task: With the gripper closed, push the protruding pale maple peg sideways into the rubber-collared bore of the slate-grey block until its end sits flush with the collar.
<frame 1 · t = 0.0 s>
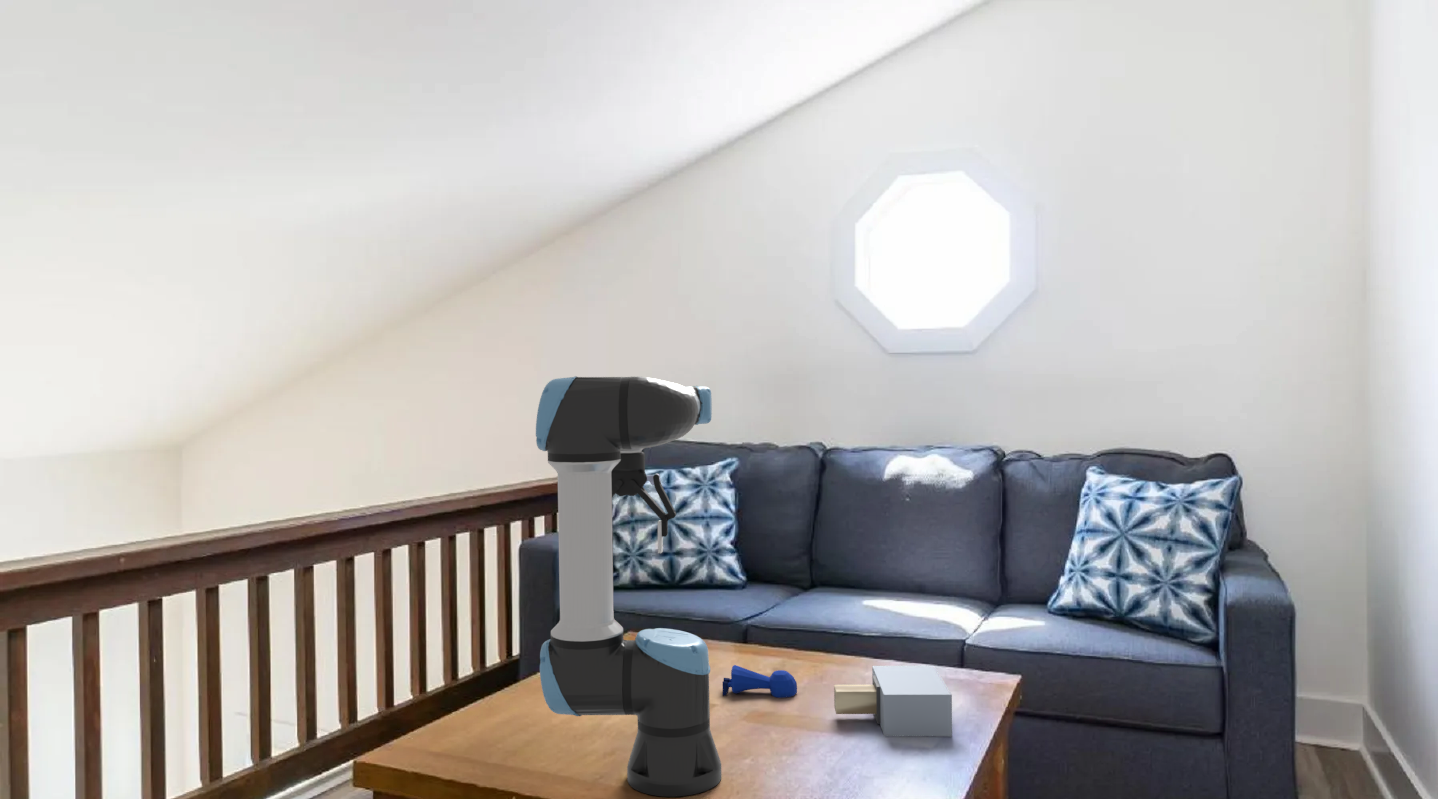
hand: (628, 552, 212), 28 cm above the table, fingers open, 13 cm apart
sleeve block: (910, 719, 189), on the table
peg: (878, 699, 189), point 4 cm above the table, slide at 0.0 cm
toy: (760, 695, 206), on the table
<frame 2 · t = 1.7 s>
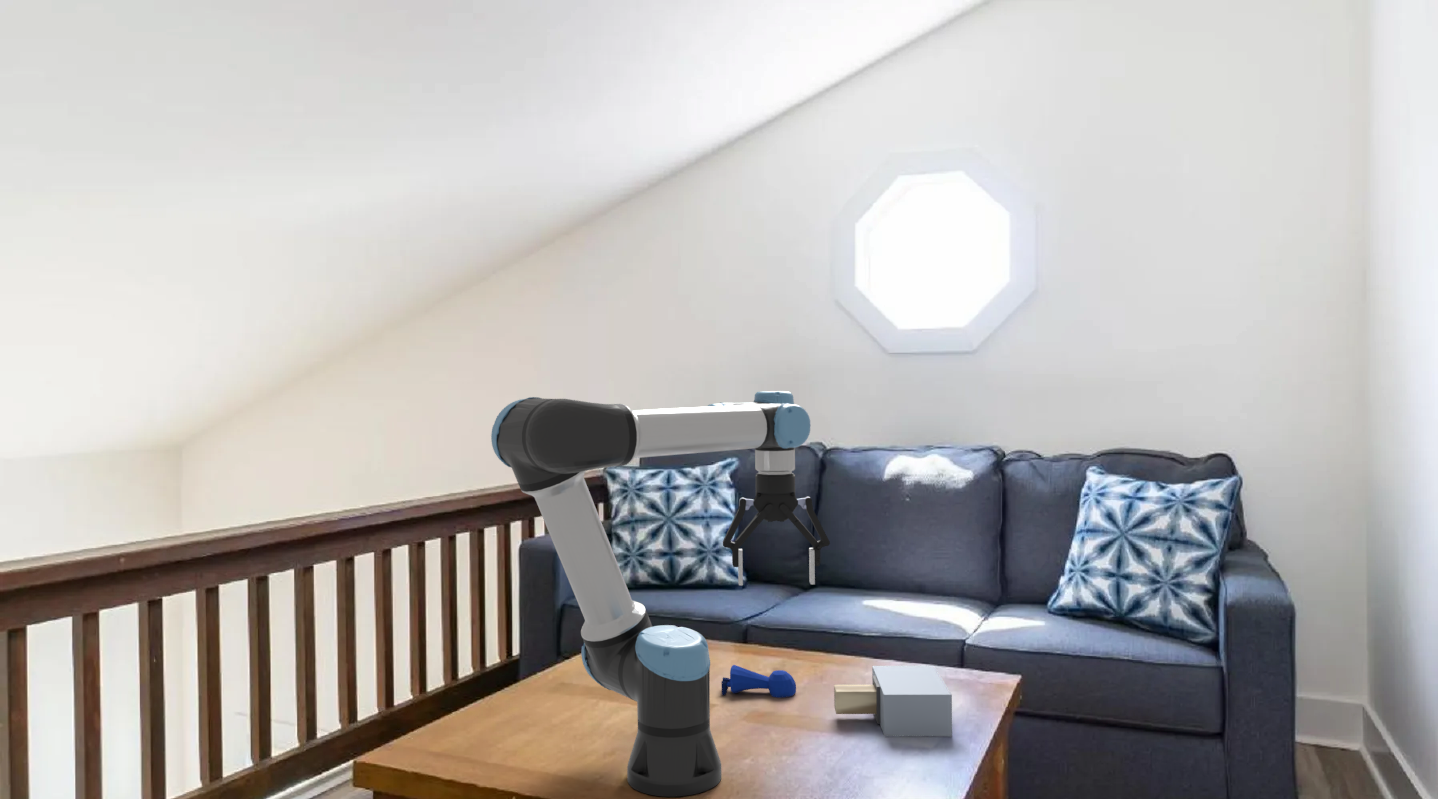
hand: (776, 583, 192), 25 cm above the table, fingers open, 13 cm apart
nothing on the table moved.
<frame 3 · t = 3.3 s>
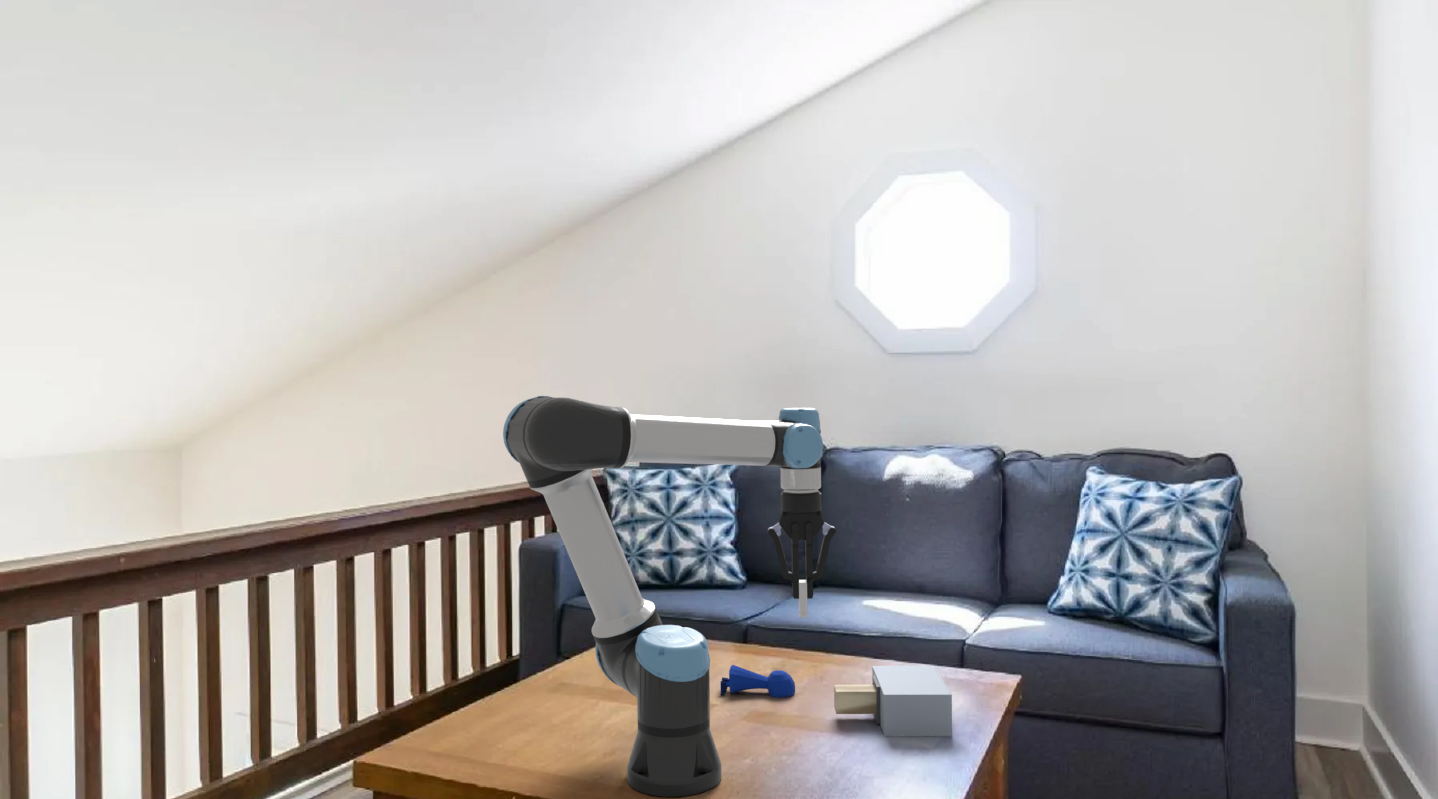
hand: (803, 615, 190), 20 cm above the table, fingers closed
nothing on the table moved.
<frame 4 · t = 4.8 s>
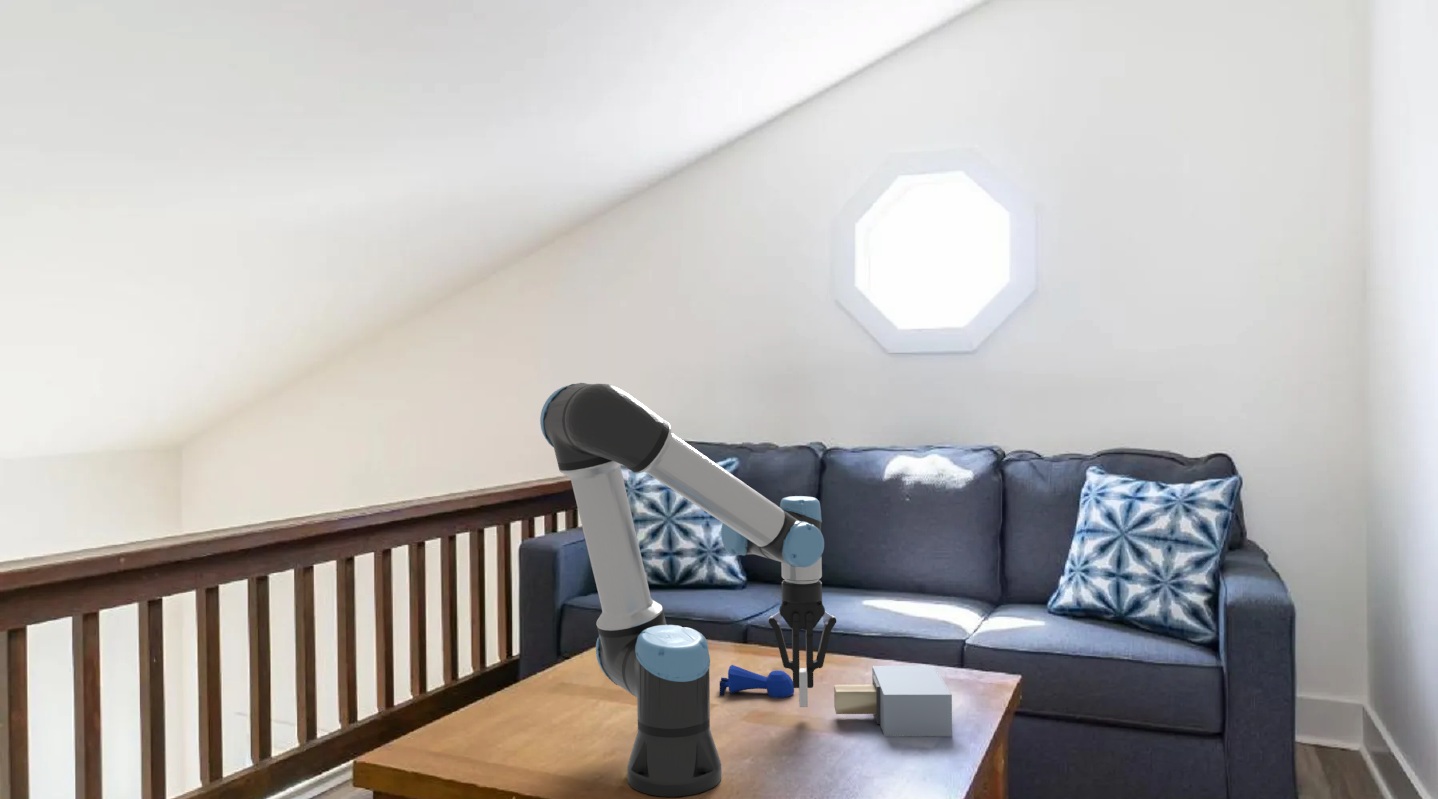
hand: (803, 704, 190), 3 cm above the table, fingers closed
nothing on the table moved.
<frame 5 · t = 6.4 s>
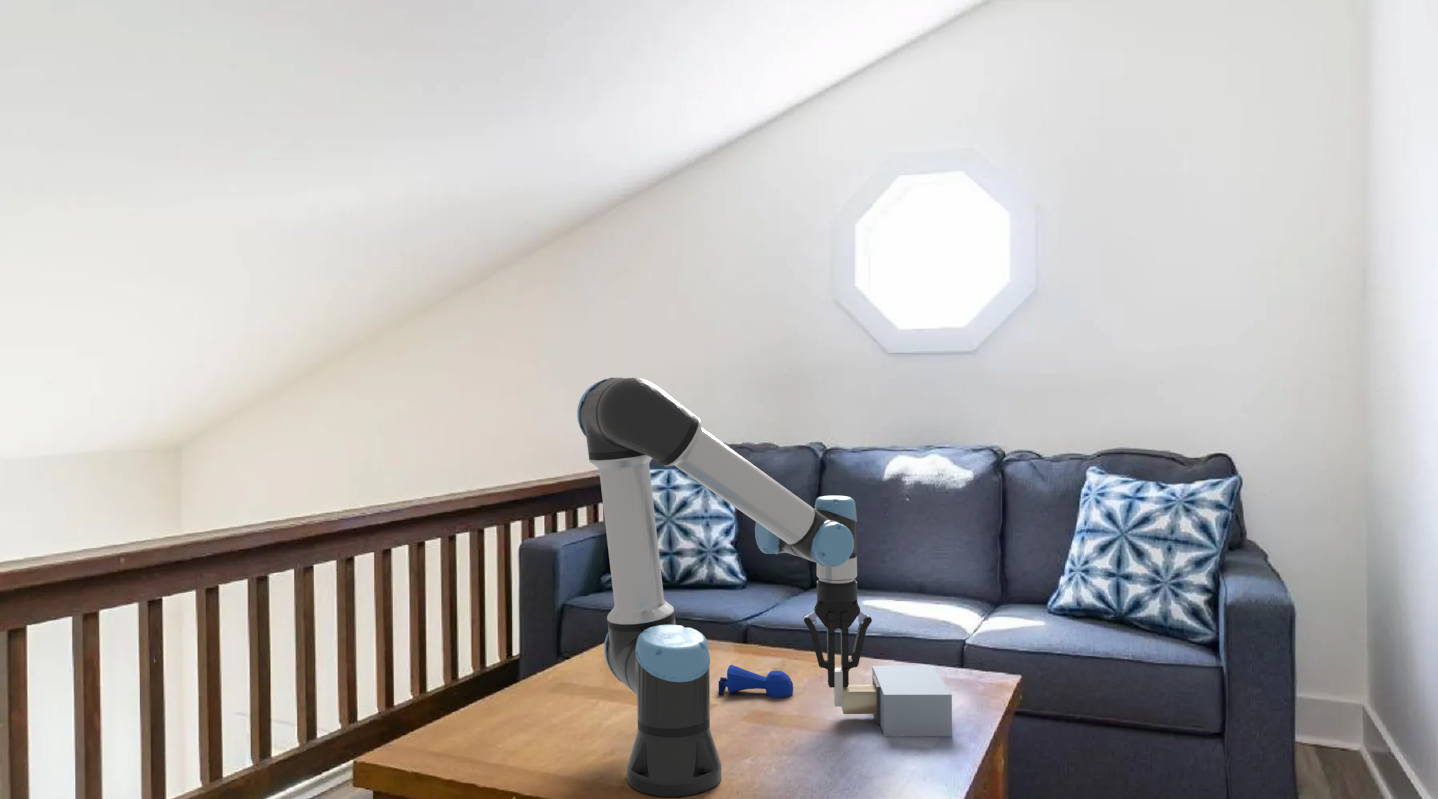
hand: (838, 704, 190), 3 cm above the table, fingers closed
peg: (885, 699, 189), point 4 cm above the table, slide at 1.4 cm, touching gripper
everything else where it was.
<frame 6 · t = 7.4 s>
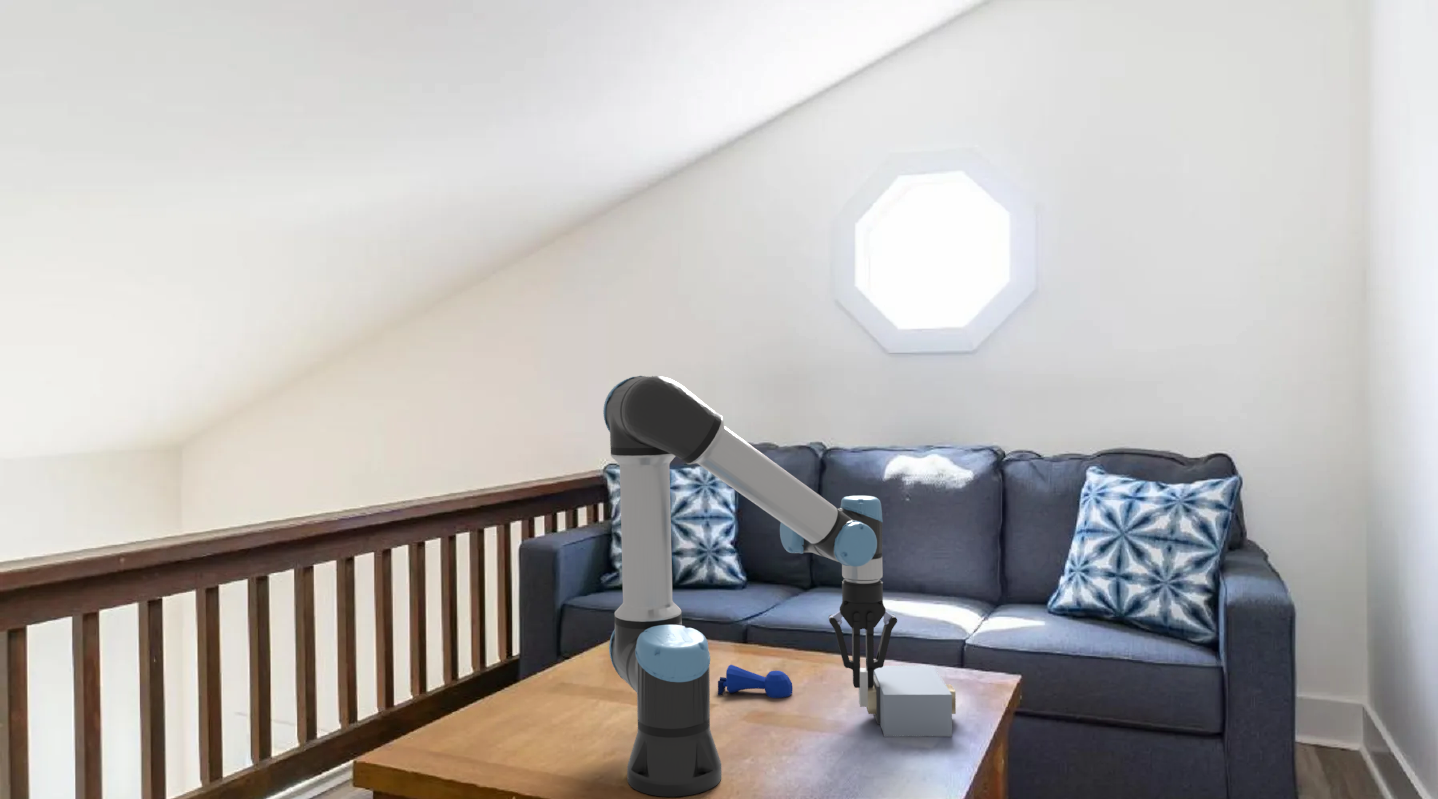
hand: (863, 704, 190), 3 cm above the table, fingers closed
peg: (910, 699, 189), point 4 cm above the table, slide at 6.0 cm
everything else where it was.
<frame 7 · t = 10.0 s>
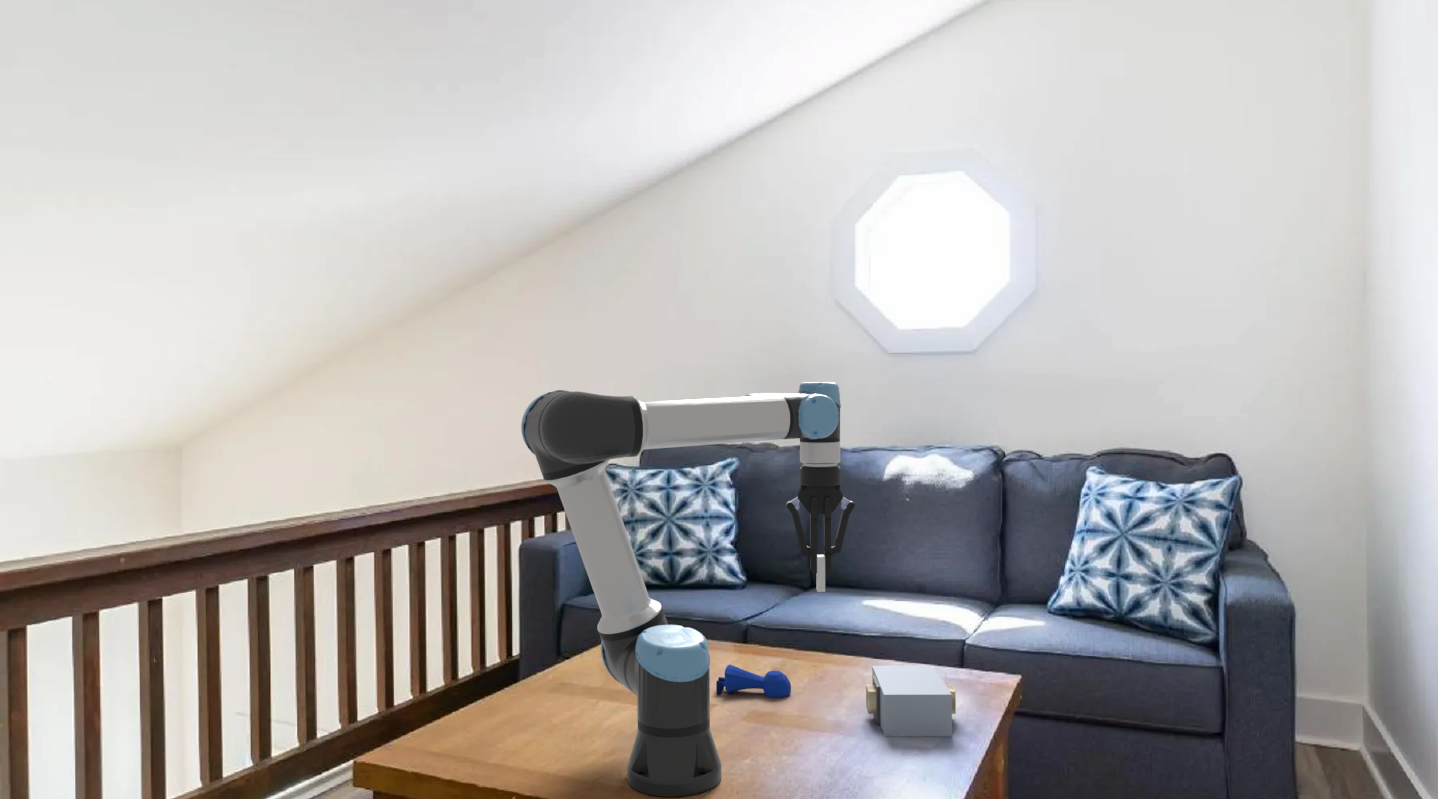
hand: (820, 590, 189), 24 cm above the table, fingers closed
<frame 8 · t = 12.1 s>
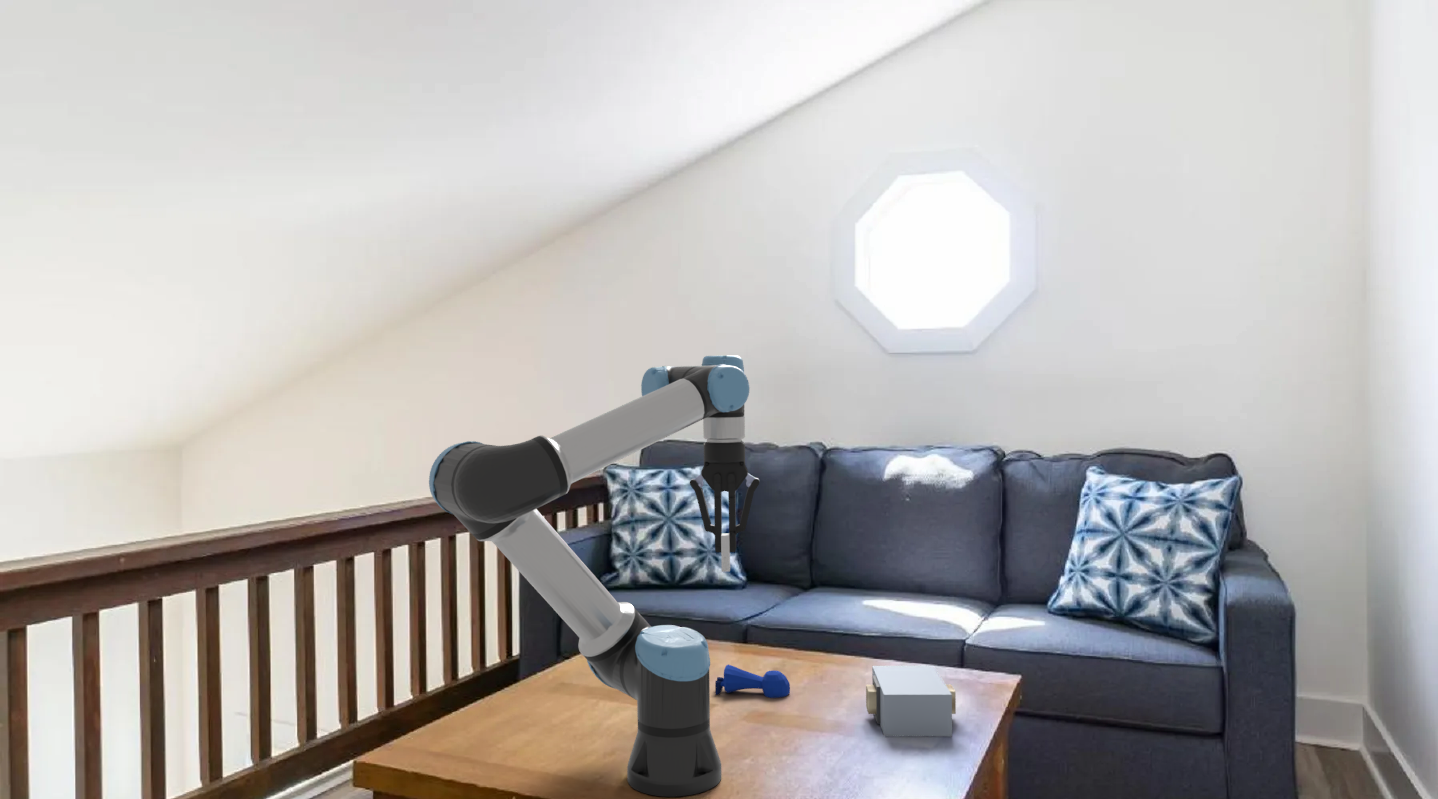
hand: (725, 570, 184), 29 cm above the table, fingers closed
at the end: peg slide at 6.0 cm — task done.
